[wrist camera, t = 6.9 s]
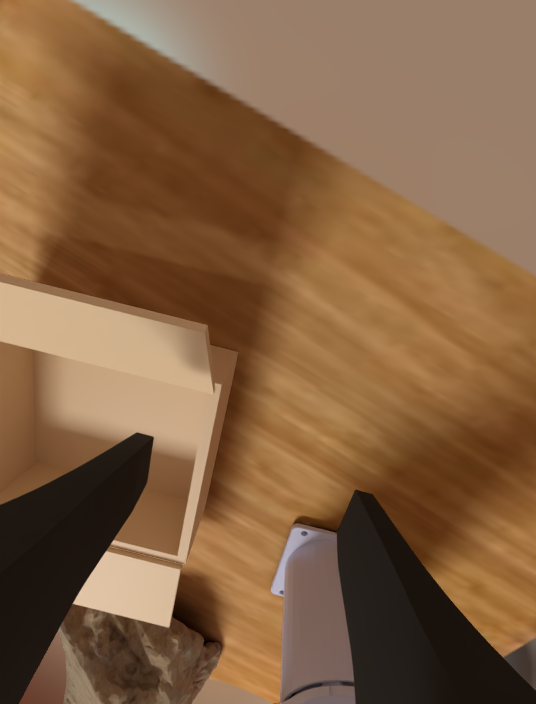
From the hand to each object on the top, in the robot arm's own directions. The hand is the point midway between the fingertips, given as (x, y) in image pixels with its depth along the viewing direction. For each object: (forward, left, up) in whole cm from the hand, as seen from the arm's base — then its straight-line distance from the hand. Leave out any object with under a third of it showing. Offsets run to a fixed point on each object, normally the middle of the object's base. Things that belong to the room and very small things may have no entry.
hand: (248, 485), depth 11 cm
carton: (+9, +9, -10) cm, 16 cm away
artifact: (+5, +32, -11) cm, 34 cm away
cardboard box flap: (+9, -3, -3) cm, 10 cm away
